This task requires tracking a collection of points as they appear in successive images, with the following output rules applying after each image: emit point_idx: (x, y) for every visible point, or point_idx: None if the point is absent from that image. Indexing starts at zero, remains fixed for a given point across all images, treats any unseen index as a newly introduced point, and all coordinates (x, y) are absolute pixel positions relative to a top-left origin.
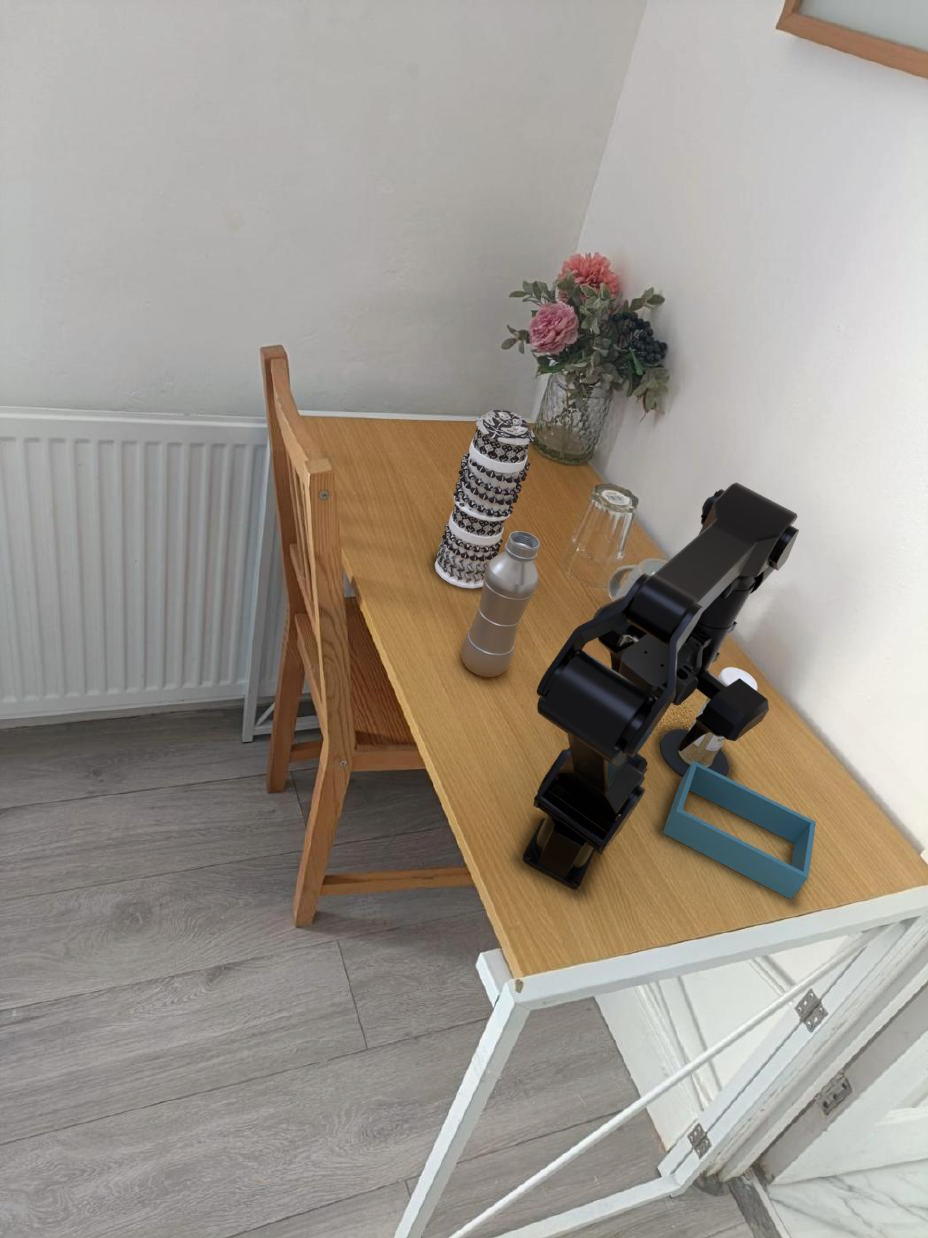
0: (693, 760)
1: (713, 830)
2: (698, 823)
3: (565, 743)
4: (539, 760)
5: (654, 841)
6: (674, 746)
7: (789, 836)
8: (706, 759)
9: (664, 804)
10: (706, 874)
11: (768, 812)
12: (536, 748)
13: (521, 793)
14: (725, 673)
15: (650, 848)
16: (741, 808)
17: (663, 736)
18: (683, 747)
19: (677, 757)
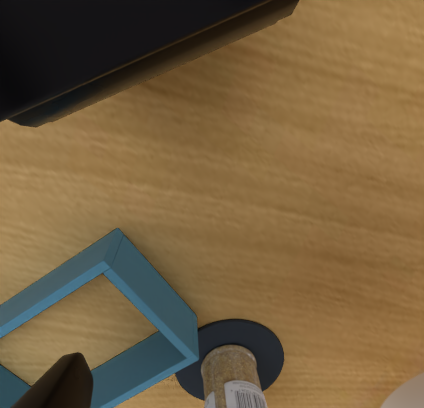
0: (216, 358)
1: (42, 299)
2: (66, 283)
3: (349, 181)
4: (344, 103)
5: (107, 202)
6: (257, 348)
7: None
8: (205, 378)
9: (169, 267)
10: (22, 245)
11: None
12: (369, 117)
13: (297, 4)
14: None
15: (95, 186)
16: (111, 370)
17: (280, 344)
18: (37, 384)
19: (237, 340)
